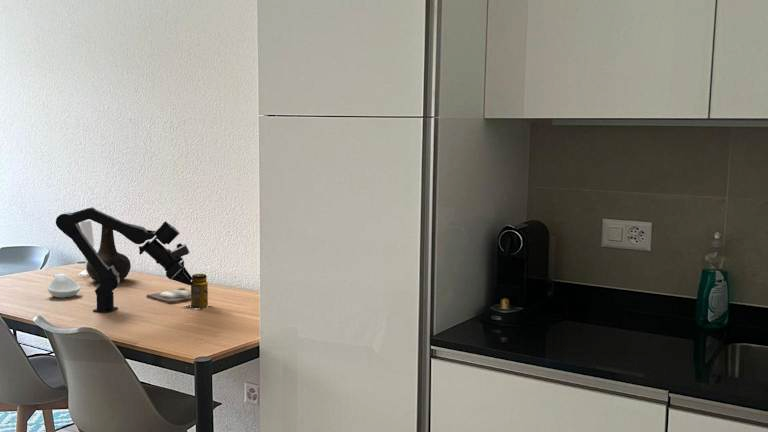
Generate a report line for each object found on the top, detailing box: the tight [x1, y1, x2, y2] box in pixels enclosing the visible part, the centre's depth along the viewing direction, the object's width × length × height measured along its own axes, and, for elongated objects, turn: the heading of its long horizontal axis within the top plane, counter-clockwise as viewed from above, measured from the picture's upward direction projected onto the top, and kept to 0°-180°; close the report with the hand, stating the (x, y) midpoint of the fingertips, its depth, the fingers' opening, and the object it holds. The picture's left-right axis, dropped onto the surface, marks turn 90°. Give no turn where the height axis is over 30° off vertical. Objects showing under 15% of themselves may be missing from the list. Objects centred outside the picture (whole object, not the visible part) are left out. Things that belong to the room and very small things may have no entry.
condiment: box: [183, 273, 209, 311], centre depth 279 cm, size 7×8×12 cm
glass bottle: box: [87, 215, 132, 284], centre depth 321 cm, size 18×18×28 cm
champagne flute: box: [79, 219, 95, 276], centre depth 337 cm, size 7×7×24 cm
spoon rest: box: [47, 273, 82, 299], centre depth 298 cm, size 24×12×7 cm, turn 32°
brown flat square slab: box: [146, 287, 191, 305], centre depth 294 cm, size 16×16×2 cm
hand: (191, 282), depth 278 cm, fingers open, 9 cm apart
